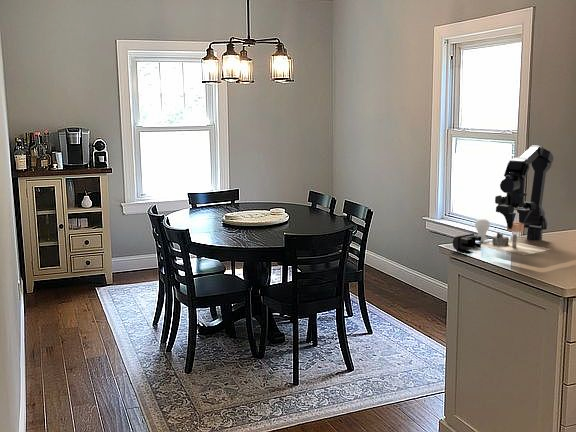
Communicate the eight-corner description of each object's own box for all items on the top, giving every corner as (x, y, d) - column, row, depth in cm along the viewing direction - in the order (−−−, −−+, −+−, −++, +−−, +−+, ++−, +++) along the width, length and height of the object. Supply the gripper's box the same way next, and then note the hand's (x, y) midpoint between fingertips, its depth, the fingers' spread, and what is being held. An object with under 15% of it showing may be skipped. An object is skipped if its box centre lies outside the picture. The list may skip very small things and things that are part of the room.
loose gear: (513, 228, 268) (514, 221, 268) (526, 230, 263) (527, 223, 262) (503, 230, 265) (503, 222, 264) (516, 232, 259) (517, 225, 259)
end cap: (467, 247, 272) (468, 232, 271) (481, 250, 266) (482, 234, 265) (451, 251, 266) (452, 235, 265) (465, 254, 260) (466, 238, 259)
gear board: (502, 242, 280) (503, 227, 279) (551, 252, 260) (552, 236, 259) (476, 247, 271) (476, 232, 270) (524, 258, 251) (525, 241, 250)
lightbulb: (473, 243, 280) (474, 218, 278) (474, 240, 285) (475, 216, 284) (488, 244, 278) (489, 219, 276) (489, 241, 283) (490, 216, 281)
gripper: (515, 186, 273) (513, 222, 275) (485, 190, 263) (484, 227, 265) (538, 189, 263) (536, 226, 266) (508, 193, 253) (506, 231, 256)
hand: (515, 227), depth 264 cm, fingers closed on loose gear, 6 cm apart
